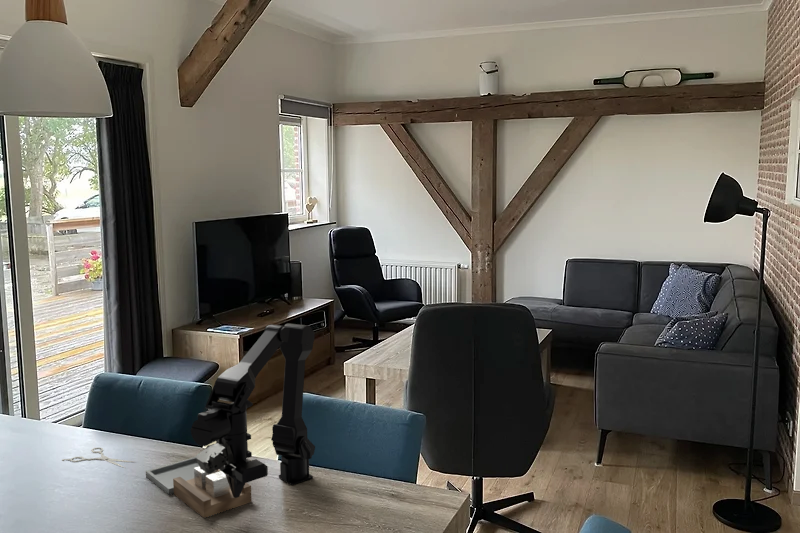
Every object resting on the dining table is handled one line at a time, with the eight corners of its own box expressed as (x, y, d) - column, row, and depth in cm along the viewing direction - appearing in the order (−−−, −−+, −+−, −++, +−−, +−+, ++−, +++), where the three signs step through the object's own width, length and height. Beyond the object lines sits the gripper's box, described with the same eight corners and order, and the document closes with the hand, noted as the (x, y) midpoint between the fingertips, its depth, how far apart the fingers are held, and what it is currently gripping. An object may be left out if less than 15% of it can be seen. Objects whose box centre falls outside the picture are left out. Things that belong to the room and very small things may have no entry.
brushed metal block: (221, 487, 167) (220, 471, 167) (229, 492, 164) (229, 476, 164) (206, 492, 165) (205, 475, 164) (214, 497, 162) (213, 481, 161)
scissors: (93, 445, 199) (146, 456, 191) (93, 448, 199) (147, 459, 191) (61, 459, 189) (116, 471, 181) (61, 462, 189) (116, 474, 181)
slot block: (219, 480, 177) (218, 464, 176) (251, 501, 165) (251, 485, 165) (173, 494, 169) (173, 478, 168) (204, 518, 157) (203, 501, 157)
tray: (197, 461, 188) (196, 456, 188) (222, 478, 178) (221, 472, 178) (145, 476, 179) (145, 471, 179) (169, 495, 169) (168, 489, 169)
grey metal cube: (209, 479, 172) (209, 463, 171) (217, 484, 169) (217, 468, 168) (194, 483, 169) (193, 468, 169) (202, 489, 166) (201, 473, 166)
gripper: (181, 428, 157) (184, 494, 159) (220, 452, 143) (223, 524, 145) (226, 416, 165) (228, 479, 167) (268, 438, 151) (270, 507, 153)
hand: (236, 497), depth 158 cm, fingers closed
